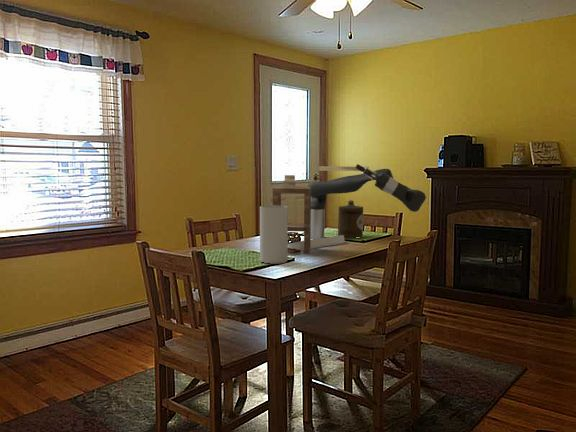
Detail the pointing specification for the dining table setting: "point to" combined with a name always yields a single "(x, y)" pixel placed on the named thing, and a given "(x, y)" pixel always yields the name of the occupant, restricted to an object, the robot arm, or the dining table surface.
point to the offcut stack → (289, 181)
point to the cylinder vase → (274, 234)
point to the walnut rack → (307, 211)
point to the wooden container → (350, 220)
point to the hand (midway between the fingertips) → (356, 165)
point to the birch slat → (338, 168)
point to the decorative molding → (319, 242)
